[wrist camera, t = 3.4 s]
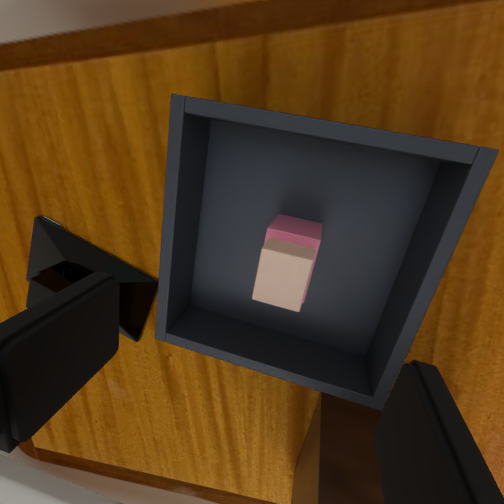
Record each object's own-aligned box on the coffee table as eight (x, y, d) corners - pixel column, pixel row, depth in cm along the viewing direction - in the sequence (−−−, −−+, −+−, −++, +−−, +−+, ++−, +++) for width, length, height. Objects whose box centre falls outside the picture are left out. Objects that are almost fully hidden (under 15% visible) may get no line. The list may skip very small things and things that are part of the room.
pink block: (322, 223, 20) (320, 252, 14) (307, 277, 21) (300, 322, 16) (278, 213, 20) (259, 237, 15) (267, 266, 22) (246, 306, 16)
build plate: (30, 278, 29) (-22, 300, 25) (40, 212, 26) (-18, 223, 22) (139, 341, 28) (105, 375, 24) (162, 279, 25) (127, 305, 21)
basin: (456, 149, 17) (500, 149, 13) (371, 360, 23) (381, 411, 18) (205, 105, 20) (170, 93, 15) (184, 305, 25) (154, 338, 21)
